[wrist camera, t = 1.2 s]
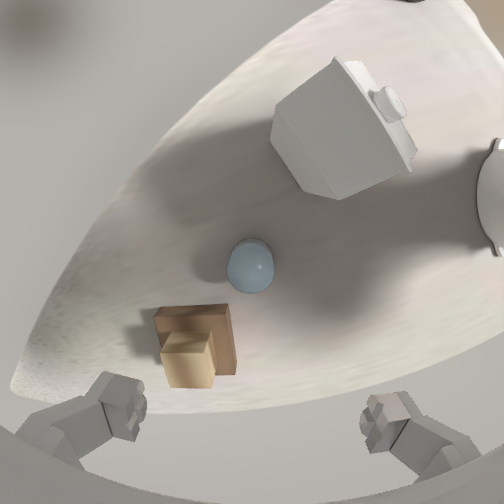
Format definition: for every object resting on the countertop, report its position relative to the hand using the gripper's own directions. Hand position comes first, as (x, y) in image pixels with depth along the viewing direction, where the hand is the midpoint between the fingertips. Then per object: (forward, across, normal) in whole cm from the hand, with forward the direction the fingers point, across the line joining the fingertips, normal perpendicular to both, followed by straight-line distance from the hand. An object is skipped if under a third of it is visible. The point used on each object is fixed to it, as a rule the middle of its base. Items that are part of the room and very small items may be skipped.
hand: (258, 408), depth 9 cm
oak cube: (+22, +6, +13) cm, 26 cm away
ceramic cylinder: (+25, 0, +1) cm, 25 cm away
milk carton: (+25, -5, -12) cm, 28 cm away
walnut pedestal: (+26, +6, +12) cm, 29 cm away
